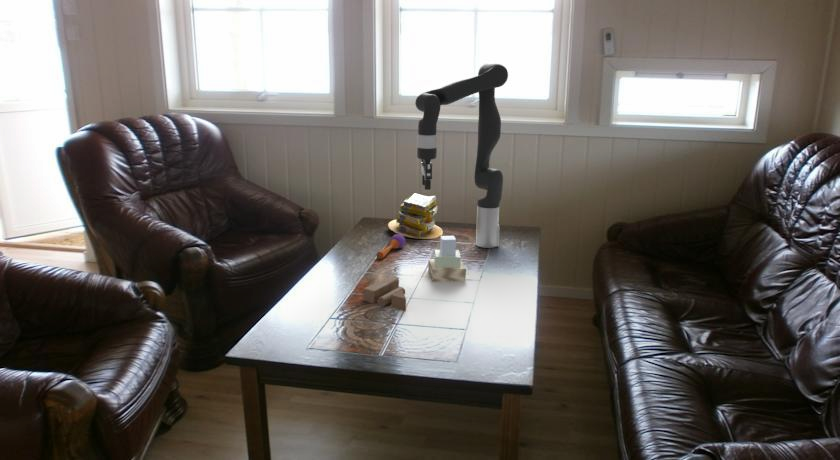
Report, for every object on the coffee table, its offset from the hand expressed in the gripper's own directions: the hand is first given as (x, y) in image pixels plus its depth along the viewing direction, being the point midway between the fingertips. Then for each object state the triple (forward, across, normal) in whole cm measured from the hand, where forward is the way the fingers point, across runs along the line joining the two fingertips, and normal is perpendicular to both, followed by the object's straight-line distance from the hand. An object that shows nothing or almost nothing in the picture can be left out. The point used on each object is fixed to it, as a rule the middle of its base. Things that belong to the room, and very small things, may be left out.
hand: (426, 187), depth 259 cm
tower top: (+24, -25, -5) cm, 34 cm away
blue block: (+20, -25, -5) cm, 32 cm away
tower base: (+28, -25, -5) cm, 38 cm away
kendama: (+29, +5, +14) cm, 32 cm away
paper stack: (+28, +34, 0) cm, 44 cm away
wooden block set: (+29, -46, +15) cm, 56 cm away
